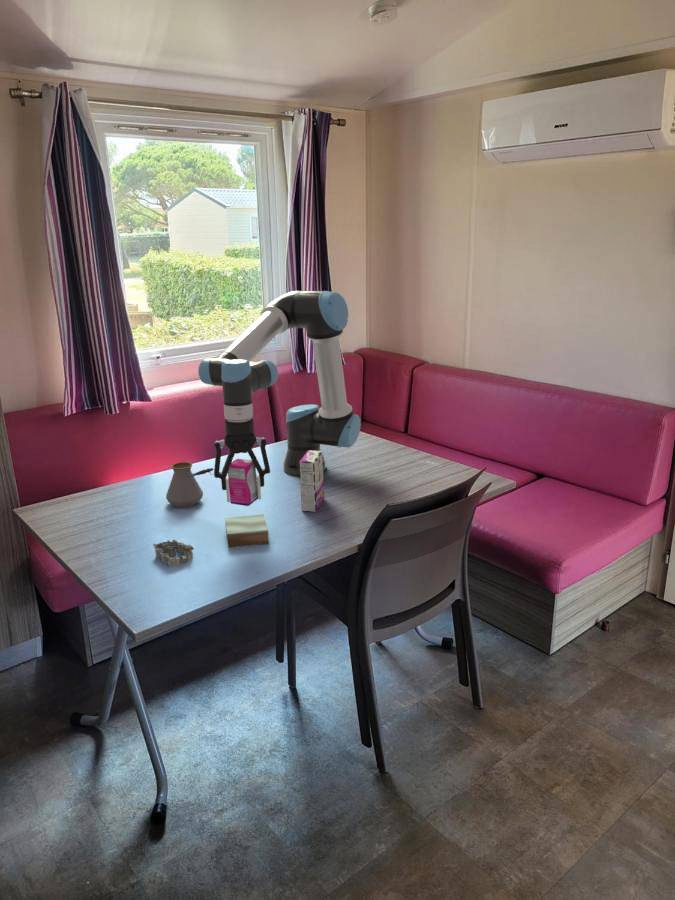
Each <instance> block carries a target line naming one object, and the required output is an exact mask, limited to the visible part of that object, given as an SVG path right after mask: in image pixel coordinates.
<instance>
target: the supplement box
mask: <svg viewBox="0 0 675 900" xmlns="http://www.w3.org/2000/svg"><path fill="white" fill-rule="evenodd" d="M256 474H257V469H256V467H255V465H254V463H253V461H252V459H245V458H236V459H234V460H232V462H231V465H229V470H228V473H227V476H228V479H229V493H230V502H229V503H230V504H232V505H239V506H245V507H250V506H251V505H252V504H253V503H255V502H256V501H257V500H259V499H258V494H257V479H256Z"/></svg>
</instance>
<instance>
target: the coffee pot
mask: <svg viewBox="0 0 675 900" xmlns="http://www.w3.org/2000/svg"><path fill="white" fill-rule="evenodd" d="M192 467H193V463H192V462H189V461H180V462H175V463H173V464H171V467H170V468H171V469H172V470H173V473H172V476H171V480H170V483H169V486H168V489H167V492H166V495H165V498H166V500H167V502H168V503H169V504H170V505H172V506H174V508H177V509H178V508H179V509H185V508H186V509H187V508H191V507H194V506H196V505H197V504H198V503H199V502H200V501H201V499H202V498H203V496H204V491H203V490H202V488H201V486H200V485H199V482H198V481H197V479H196V476H200V475H205V474H207V473H209V474H210V475H211V476H213V474H212V471H213V470H214V468H213V467H211V468H207V469H202V470H200V471H197V472H194V473H193V472H192V471H191V470H192Z"/></svg>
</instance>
